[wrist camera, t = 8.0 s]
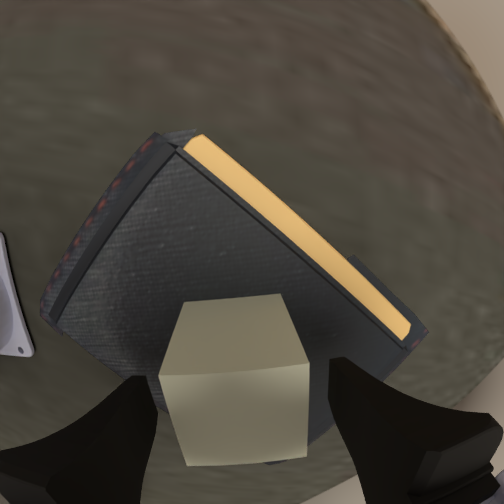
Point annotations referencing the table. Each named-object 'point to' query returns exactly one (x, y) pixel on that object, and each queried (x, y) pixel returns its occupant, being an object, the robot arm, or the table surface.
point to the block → (237, 382)
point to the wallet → (215, 271)
